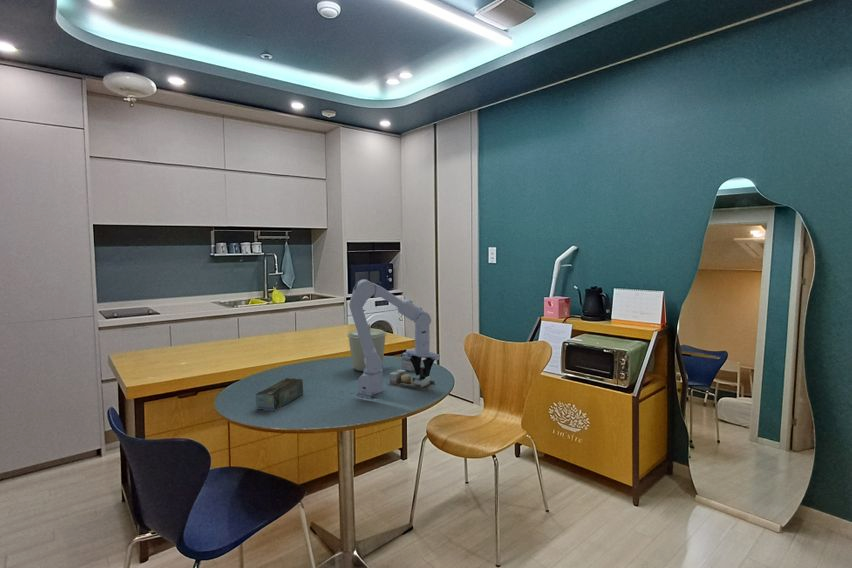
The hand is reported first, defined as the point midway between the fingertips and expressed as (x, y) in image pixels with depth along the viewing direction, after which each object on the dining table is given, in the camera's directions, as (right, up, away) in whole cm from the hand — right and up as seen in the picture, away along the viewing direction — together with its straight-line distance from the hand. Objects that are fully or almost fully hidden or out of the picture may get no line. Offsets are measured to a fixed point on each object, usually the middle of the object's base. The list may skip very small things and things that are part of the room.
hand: (422, 375), depth 178 cm
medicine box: (-5, -4, +25) cm, 26 cm away
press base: (-5, -6, +4) cm, 8 cm away
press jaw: (0, -4, 0) cm, 4 cm away
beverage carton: (-52, -8, -11) cm, 54 cm away
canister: (-26, -4, +32) cm, 41 cm away
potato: (-7, -4, +5) cm, 9 cm away
